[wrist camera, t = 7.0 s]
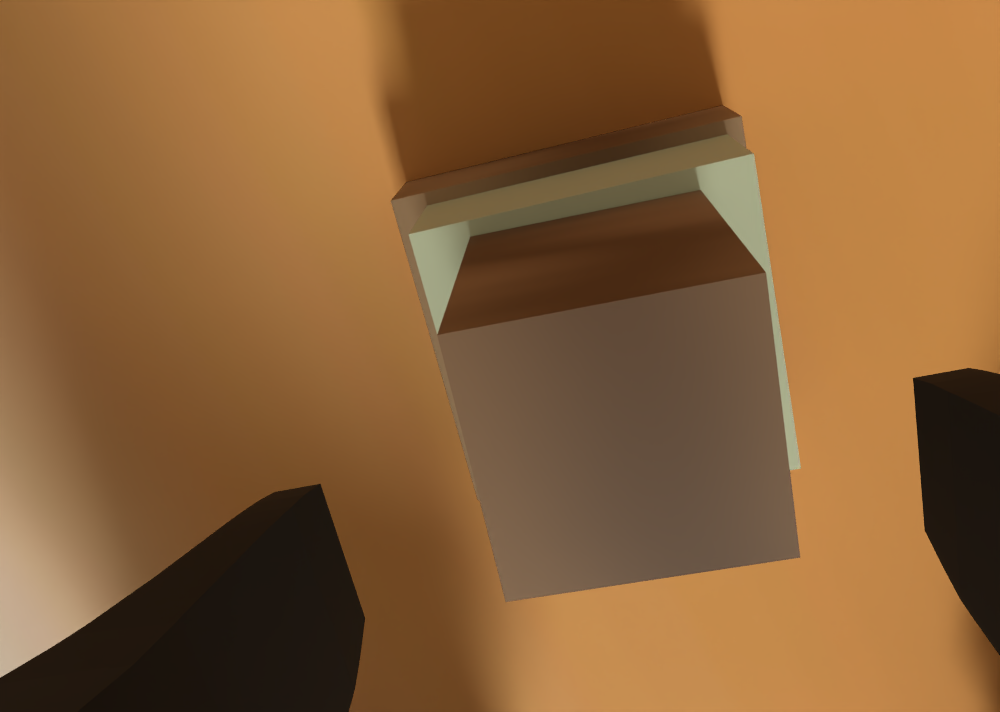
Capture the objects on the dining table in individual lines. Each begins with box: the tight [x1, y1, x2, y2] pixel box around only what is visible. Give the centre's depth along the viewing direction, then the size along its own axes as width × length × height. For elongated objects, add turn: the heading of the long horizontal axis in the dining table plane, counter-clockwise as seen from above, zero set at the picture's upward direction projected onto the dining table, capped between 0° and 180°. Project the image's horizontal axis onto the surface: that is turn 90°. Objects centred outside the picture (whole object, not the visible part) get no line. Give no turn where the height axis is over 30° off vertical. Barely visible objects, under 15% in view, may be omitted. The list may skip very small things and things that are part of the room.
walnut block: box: [437, 190, 800, 602], centre depth 14 cm, size 4×4×5 cm
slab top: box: [409, 134, 801, 470], centre depth 18 cm, size 6×6×2 cm
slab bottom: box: [391, 105, 746, 500], centre depth 20 cm, size 7×7×2 cm
